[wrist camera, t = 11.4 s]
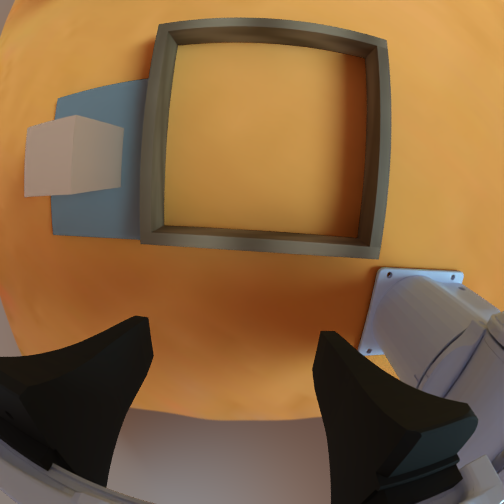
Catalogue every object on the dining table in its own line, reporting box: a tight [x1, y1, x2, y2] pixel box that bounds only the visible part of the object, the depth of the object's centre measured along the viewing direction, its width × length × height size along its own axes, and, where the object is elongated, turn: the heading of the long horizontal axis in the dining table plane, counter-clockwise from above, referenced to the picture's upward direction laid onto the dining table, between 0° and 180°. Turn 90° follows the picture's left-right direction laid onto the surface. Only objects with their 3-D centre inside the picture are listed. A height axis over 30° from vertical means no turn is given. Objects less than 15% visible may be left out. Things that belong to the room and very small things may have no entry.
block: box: [24, 115, 124, 197], centre depth 14 cm, size 4×4×6 cm
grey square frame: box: [140, 18, 391, 259], centre depth 16 cm, size 16×16×2 cm
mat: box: [51, 78, 149, 240], centre depth 17 cm, size 10×12×1 cm
